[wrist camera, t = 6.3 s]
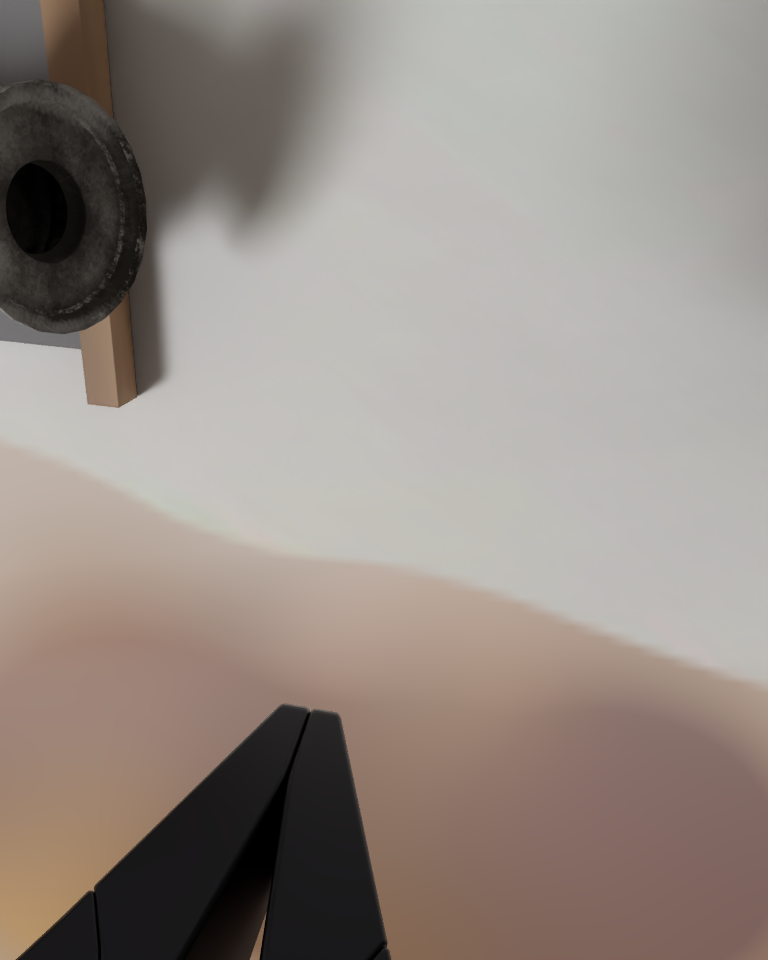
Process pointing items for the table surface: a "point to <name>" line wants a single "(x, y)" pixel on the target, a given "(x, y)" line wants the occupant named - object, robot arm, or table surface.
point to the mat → (10, 59)
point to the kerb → (85, 66)
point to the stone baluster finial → (65, 208)
